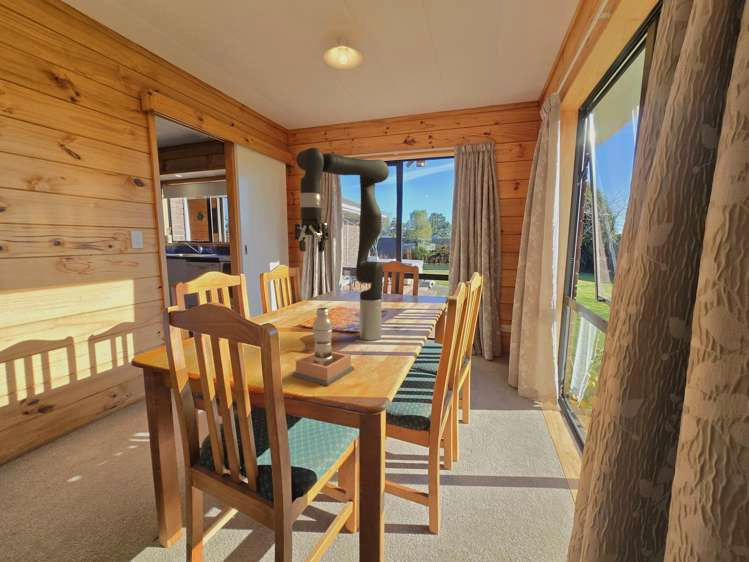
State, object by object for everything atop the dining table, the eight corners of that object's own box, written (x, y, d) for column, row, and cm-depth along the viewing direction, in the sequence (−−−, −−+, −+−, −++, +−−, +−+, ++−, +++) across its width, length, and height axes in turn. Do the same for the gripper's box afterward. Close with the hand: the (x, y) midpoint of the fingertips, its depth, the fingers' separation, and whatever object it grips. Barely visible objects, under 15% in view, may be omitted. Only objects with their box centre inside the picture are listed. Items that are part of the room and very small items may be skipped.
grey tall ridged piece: (308, 371, 105) (307, 310, 103) (321, 364, 111) (320, 306, 109) (325, 375, 103) (324, 312, 100) (337, 367, 109) (336, 308, 106)
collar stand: (320, 361, 116) (320, 347, 116) (354, 369, 110) (354, 355, 109) (292, 376, 104) (292, 360, 104) (328, 386, 98) (327, 369, 97)
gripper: (333, 206, 119) (333, 251, 122) (302, 208, 126) (303, 250, 129) (319, 205, 113) (320, 252, 115) (288, 206, 120) (290, 251, 122)
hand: (311, 251), depth 122 cm, fingers open, 8 cm apart
